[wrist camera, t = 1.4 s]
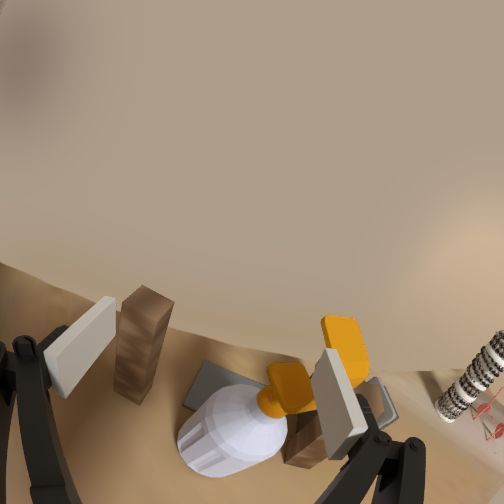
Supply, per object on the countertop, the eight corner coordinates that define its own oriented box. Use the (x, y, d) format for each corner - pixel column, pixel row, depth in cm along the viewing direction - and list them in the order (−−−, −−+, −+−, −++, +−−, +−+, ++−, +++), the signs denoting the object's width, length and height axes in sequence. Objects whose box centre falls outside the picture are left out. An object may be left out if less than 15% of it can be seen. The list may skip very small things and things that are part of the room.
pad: (182, 405, 33) (183, 403, 33) (204, 361, 42) (205, 359, 42) (255, 434, 33) (256, 433, 33) (266, 387, 42) (266, 386, 42)
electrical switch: (335, 404, 43) (369, 373, 40) (355, 407, 44) (388, 377, 41) (347, 446, 35) (387, 416, 31) (367, 446, 36) (406, 417, 32)
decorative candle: (429, 405, 49) (496, 326, 39) (440, 395, 54) (499, 323, 44) (449, 428, 42) (520, 351, 32) (458, 415, 47) (520, 344, 37)
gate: (113, 390, 30) (122, 302, 24) (127, 372, 34) (142, 284, 28) (309, 469, 29) (384, 411, 23) (310, 447, 33) (379, 386, 27)
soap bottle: (231, 415, 34) (354, 295, 23) (251, 472, 27) (410, 376, 17) (170, 416, 29) (278, 277, 19) (185, 482, 22) (342, 396, 12)
